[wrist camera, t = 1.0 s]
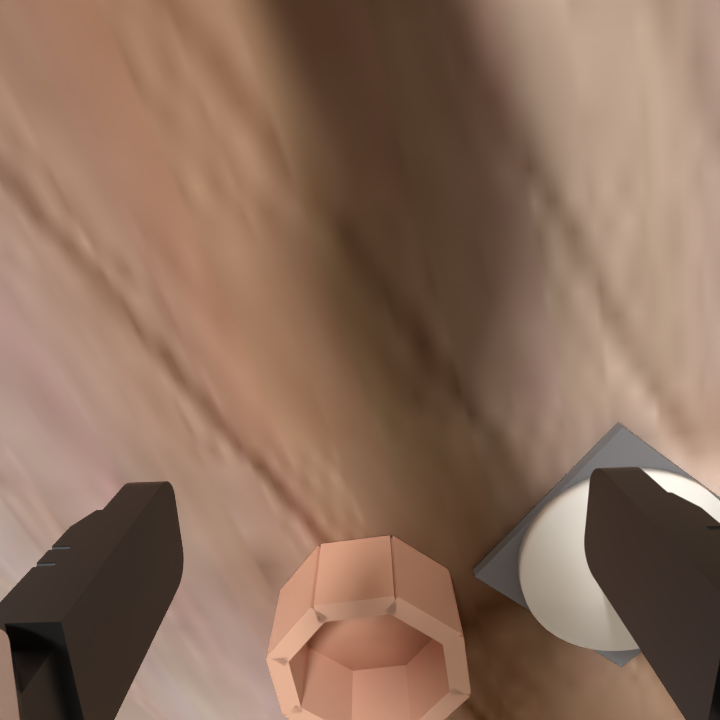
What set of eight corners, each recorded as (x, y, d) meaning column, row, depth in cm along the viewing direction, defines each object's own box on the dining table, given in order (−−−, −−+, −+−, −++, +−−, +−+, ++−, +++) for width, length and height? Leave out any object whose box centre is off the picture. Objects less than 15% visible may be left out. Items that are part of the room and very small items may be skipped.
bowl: (349, 508, 32) (346, 566, 27) (488, 593, 34) (508, 661, 29) (253, 622, 35) (235, 691, 30) (386, 693, 37) (389, 769, 32)
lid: (623, 426, 29) (699, 499, 22) (775, 539, 31) (884, 635, 25) (474, 576, 33) (502, 677, 26) (621, 667, 35) (681, 780, 28)
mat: (618, 422, 30) (623, 427, 29) (768, 533, 32) (775, 539, 31) (472, 569, 33) (474, 576, 33) (617, 659, 36) (621, 667, 35)
